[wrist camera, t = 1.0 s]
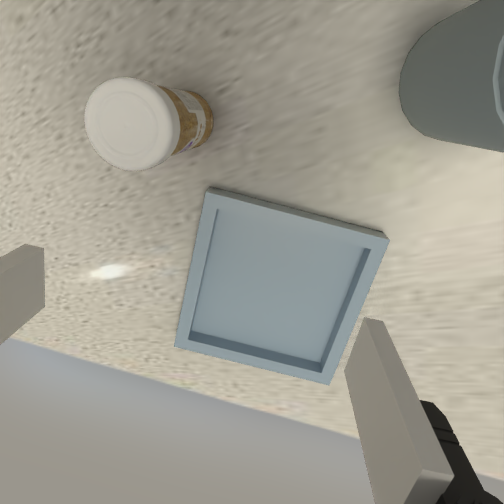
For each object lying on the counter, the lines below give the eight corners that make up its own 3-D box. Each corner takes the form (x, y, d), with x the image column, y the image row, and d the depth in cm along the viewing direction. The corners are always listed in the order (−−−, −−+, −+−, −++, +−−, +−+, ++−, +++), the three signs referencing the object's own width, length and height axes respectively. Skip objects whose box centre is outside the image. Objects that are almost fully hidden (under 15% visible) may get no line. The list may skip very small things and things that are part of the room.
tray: (210, 186, 33) (205, 191, 31) (383, 232, 33) (390, 240, 31) (179, 334, 38) (173, 346, 36) (326, 370, 39) (329, 385, 37)
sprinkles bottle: (191, 159, 32) (136, 191, 19) (150, 121, 31) (63, 130, 19) (226, 117, 30) (189, 122, 18) (182, 76, 30) (113, 53, 17)
